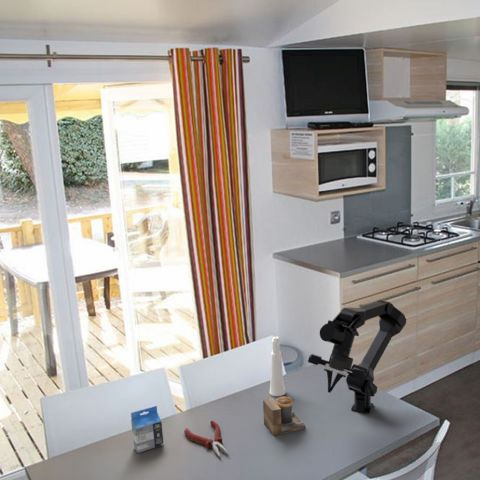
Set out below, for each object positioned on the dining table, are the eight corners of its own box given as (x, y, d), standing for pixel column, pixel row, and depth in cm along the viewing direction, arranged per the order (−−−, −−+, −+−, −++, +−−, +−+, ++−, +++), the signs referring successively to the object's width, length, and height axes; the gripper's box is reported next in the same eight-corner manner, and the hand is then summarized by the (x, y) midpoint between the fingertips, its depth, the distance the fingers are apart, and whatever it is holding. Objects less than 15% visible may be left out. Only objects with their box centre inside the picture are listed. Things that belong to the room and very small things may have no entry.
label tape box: (137, 453, 182) (134, 418, 179) (133, 447, 185) (130, 412, 182) (164, 445, 185) (161, 410, 183) (159, 439, 189) (156, 405, 186)
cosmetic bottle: (266, 392, 217) (264, 337, 213) (278, 387, 221) (276, 333, 216) (276, 398, 213) (274, 341, 208) (288, 393, 216) (287, 337, 211)
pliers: (208, 465, 174) (207, 457, 174) (183, 434, 192) (182, 427, 191) (241, 454, 180) (241, 446, 179) (214, 425, 197) (214, 418, 197)
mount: (295, 416, 199) (294, 392, 197) (305, 428, 192) (304, 403, 190) (263, 424, 195) (263, 399, 193) (273, 436, 188) (272, 410, 186)
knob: (288, 416, 197) (287, 394, 195) (296, 425, 191) (295, 402, 190) (273, 419, 195) (273, 398, 193) (281, 428, 190) (280, 406, 188)
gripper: (314, 337, 185) (299, 385, 183) (371, 356, 181) (357, 405, 179) (315, 337, 196) (302, 382, 194) (370, 354, 192) (356, 400, 190)
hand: (329, 392), depth 189 cm, fingers closed
